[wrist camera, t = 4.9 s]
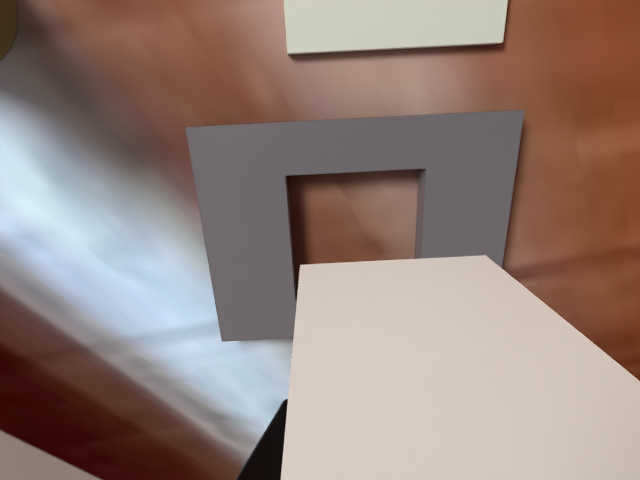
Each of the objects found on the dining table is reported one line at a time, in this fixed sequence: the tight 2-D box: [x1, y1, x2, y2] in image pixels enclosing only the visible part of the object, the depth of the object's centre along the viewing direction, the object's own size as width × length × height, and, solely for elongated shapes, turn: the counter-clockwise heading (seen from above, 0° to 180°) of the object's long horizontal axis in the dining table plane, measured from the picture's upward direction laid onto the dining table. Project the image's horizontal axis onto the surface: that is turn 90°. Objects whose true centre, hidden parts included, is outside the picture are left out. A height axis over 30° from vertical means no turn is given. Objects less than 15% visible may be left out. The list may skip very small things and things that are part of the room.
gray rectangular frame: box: [185, 110, 524, 341], centre depth 19 cm, size 16×12×1 cm
